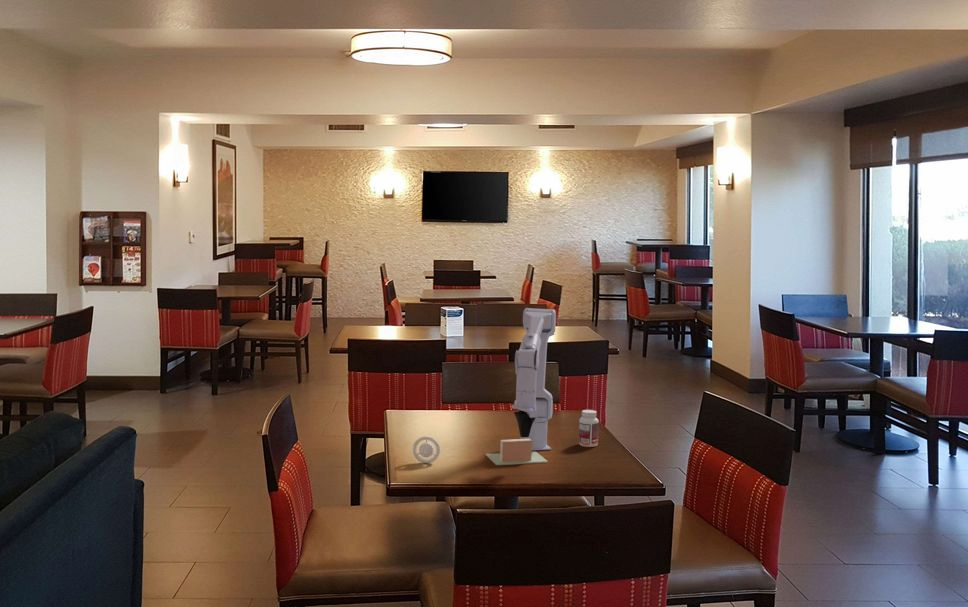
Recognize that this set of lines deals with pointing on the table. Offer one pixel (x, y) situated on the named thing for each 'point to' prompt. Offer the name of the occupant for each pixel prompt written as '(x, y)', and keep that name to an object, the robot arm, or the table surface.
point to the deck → (515, 450)
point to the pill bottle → (588, 429)
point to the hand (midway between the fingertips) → (524, 436)
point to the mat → (534, 459)
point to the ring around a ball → (426, 449)
